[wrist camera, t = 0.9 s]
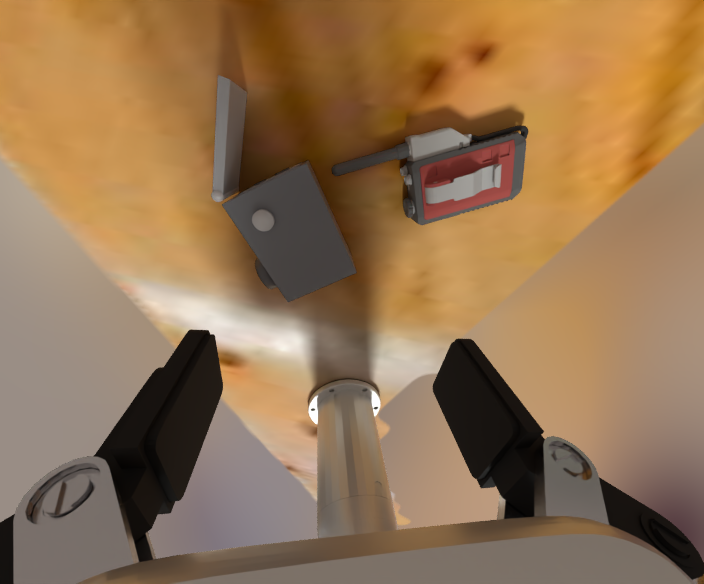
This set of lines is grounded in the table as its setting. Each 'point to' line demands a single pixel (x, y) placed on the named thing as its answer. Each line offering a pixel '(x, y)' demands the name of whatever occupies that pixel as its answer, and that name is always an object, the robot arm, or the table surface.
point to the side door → (228, 138)
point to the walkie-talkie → (453, 170)
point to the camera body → (292, 232)
